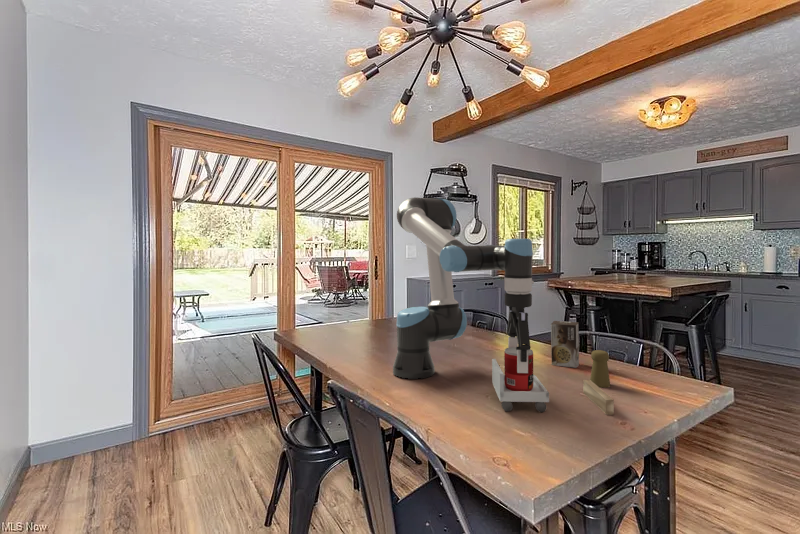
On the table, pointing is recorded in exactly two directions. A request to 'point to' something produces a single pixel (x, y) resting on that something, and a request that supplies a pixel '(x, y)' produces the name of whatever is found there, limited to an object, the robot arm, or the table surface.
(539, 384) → the cart
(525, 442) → the table surface
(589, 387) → the bar
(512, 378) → the canned food
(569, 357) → the coffee box
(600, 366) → the cork
